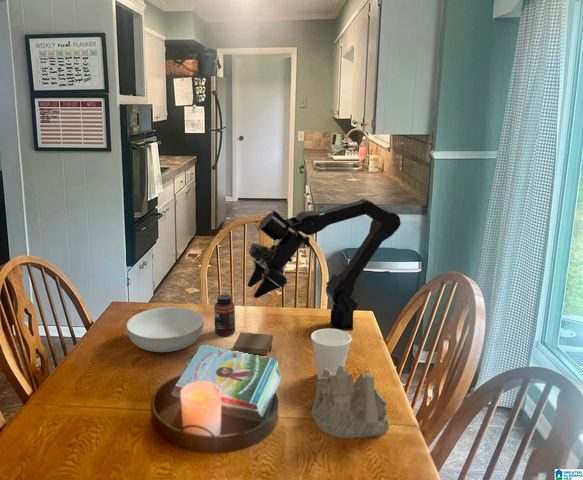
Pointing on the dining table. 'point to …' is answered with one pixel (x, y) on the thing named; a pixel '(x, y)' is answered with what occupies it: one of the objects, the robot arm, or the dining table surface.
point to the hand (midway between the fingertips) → (251, 291)
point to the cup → (330, 349)
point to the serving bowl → (165, 328)
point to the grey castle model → (349, 405)
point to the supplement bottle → (224, 316)
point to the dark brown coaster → (253, 343)
